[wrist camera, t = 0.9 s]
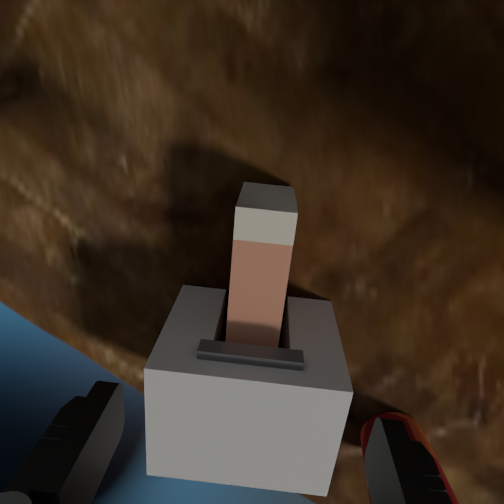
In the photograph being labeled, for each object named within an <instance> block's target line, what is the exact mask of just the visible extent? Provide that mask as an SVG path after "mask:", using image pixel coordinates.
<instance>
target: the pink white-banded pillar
mask: <svg viewBox="0 0 504 504" xmlns="http://www.w3.org/2000/svg"><path fill="white" fill-rule="evenodd" d="M297 216H298V211H297V205H296V198H295V192H294V187H289V186H279V185H270V184H260V183H251V182H244V184H243V186H242V189H241V192H240V195H239V198H238V201H237V204H236V207H235V220H234V233H233V249H232V262H231V275H230V288H229V300H228V313H227V326H226V339H225V342H234V343H242V344H251V345H260V346H269V347H278V344H279V337H280V330H281V324H282V317H283V310H284V303H285V296H286V290H287V283H288V276H289V269H290V262H291V255H292V249H293V243H294V236H295V229H296V223H297Z"/></svg>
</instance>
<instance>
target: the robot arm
mask: <svg viewBox="0 0 504 504" xmlns="http://www.w3.org/2000/svg"><path fill="white" fill-rule="evenodd" d="M124 417H125V416H124V396H123V385H122V384H120V383H113V382H104V381H97V382H96V383H95V384H94V385H93V387H92V389H91V390H90V392H89V393H88V395H87V397H81V396H76V397H74V398H73V399H72V400H71V401H69V402H68V403H67V404H65V405H64V406H63V407H62V408H61V409H60V410H59V412H58V413H57V415H56V416H55V418H54V419H53V421H52V422H51V425H50V426H48V428H47V429H46V431H45V432H44V434H43V436H42V438H40V440H39V441H38V443H37V444H36V446H35V447H34V449H33V450H32V451H31V453H30V454H29V456H28V457H27V459H26V460H25V462H24V463H23V465H22V466H21V467H20V469H19V470H18V472H17V473H16V475H15V476H14V478H13V479H12V481H11V482H10V483H9V485H8V486H7V488H6V489H5V490H4V491H3V492H2V493H1V494H0V504H91V502H92V500H93V497H94V495H95V493H96V491H97V489H98V487H99V484H100V482H101V480H102V478H103V476H104V473H105V471H106V469H107V467H108V465H109V462H110V460H111V458H112V456H113V454H114V451H115V449H116V447H117V445H118V443H119V441H120V438H121V435H122V431H123V427H124V420H125V418H124ZM364 466H365V474H366V479H367V483H368V488H369V493H370V497H371V502H372V504H452V502H451V499H450V497H449V494H447V490H446V487H445V485H444V482H443V480H442V479H441V475H440V472H439V470H438V467H437V465H436V463H435V460H434V458H433V456H432V455H431V454H430V453H429V451H428V450H427V449H426V448H425V447H424V445H423V444H422V443H421V442H420V441H414V440H410V437H409V434H408V432H407V429H406V426H405V424H404V422H403V421H402V420H394V419H386V418H379V417H377V418H376V419H375V422H374V425H373V428H372V431H371V435H370V438H369V441H368V444H367V448H366V451H365V459H364Z"/></svg>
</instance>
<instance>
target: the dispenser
mask: <svg viewBox="0 0 504 504" xmlns="http://www.w3.org/2000/svg"><path fill="white" fill-rule="evenodd" d="M225 297H226V289H216V288H207V287H198V286H189V285H183V286H182V288H181V291H180V293H179V295H178V297H177V299H176V301H175V303H174V305H173V308H172V310H171V312H170V314H169V316H168V318H167V320H166V322H165V324H164V327H163V329H162V331H161V333H160V335H159V337H158V339H157V341H156V344H155V346H154V348H153V350H152V352H151V354H150V356H149V358H148V361H147V363H146V365H145V367H144V392H145V425H146V461H147V475H153V476H161V477H170V478H178V479H187V480H195V481H203V482H211V483H219V484H228V485H236V486H244V487H253V488H262V489H270V490H278V491H287V492H294V493H302V494H311V495H319V496H327V493H328V489H329V485H330V481H331V477H332V473H333V469H334V466H335V462H336V458H337V454H338V450H339V446H340V443H341V439H342V435H343V431H344V427H345V423H346V419H347V416H348V412H349V408H350V404H351V400H352V396H353V388H352V384H351V380H350V376H349V372H348V368H347V364H346V360H345V356H344V352H343V348H342V344H341V340H340V336H339V332H338V328H337V324H336V320H335V315H334V311H333V307H332V303H331V301H325V300H316V299H307V298H298V297H289V296H288V297H287V304H286V311H285V318H284V324H283V331H282V338H281V344H280V348H278V347H269V346H260V345H251V344H242V343H234V342H225V341H222V338H223V325H224V311H225Z"/></svg>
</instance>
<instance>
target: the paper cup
mask: <svg viewBox="0 0 504 504" xmlns="http://www.w3.org/2000/svg"><path fill="white" fill-rule="evenodd" d="M377 417H379V418H386V419H394V420H402V421H403V422H404V424H405V426H406V429H407V432H408V434H409V437H410V440H414V441H420V442H421V443H422V444H423V445H424V447H425V448H426V449H427V450H428V451H429V453H430V454H431V455H432V456H433V458H434V460H435V463H436V465H437V467H438V470H439V472H440V475H441V479H442V480H443V482H444V485H445V487H446V490H447V494H449V497H450V499H451V502H452V504H459V503H458V500H457V498H456V496H455V494H454V492H453V490H452V488H451V486H450V484H449V482H448V480H447V478H446V476H445V474H444V472H443V470H442V468H441V466H440V464H439V462H438V460H437V458H436V456H435V454H434V452H433V450H432V448H431V446H430V444H429V443H428V441H427V439H426V437H425V435H424V433H423V431H422V429H421V427H420V426H419V424H418V423H417V421H416V420H415V419H414V418H413V417H411V416H410V415H407V414H405V413H402V412H395V411H390V412H383V413H379V414H377V415H374V416H373V417H371V418H369V419H368V420H367V421H366V422H365V423H364V425H363V426H362V428H361V433H360V437H361V446H362V453H363V460H364V459H365V451H366V448H367V444H368V441H369V438H370V435H371V431H372V428H373V425H374V422H375V419H376V418H377ZM367 485H368V483H367ZM368 491H369V488H368ZM369 497H370V493H369ZM370 503H371V504H372V502H371V497H370Z"/></svg>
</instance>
